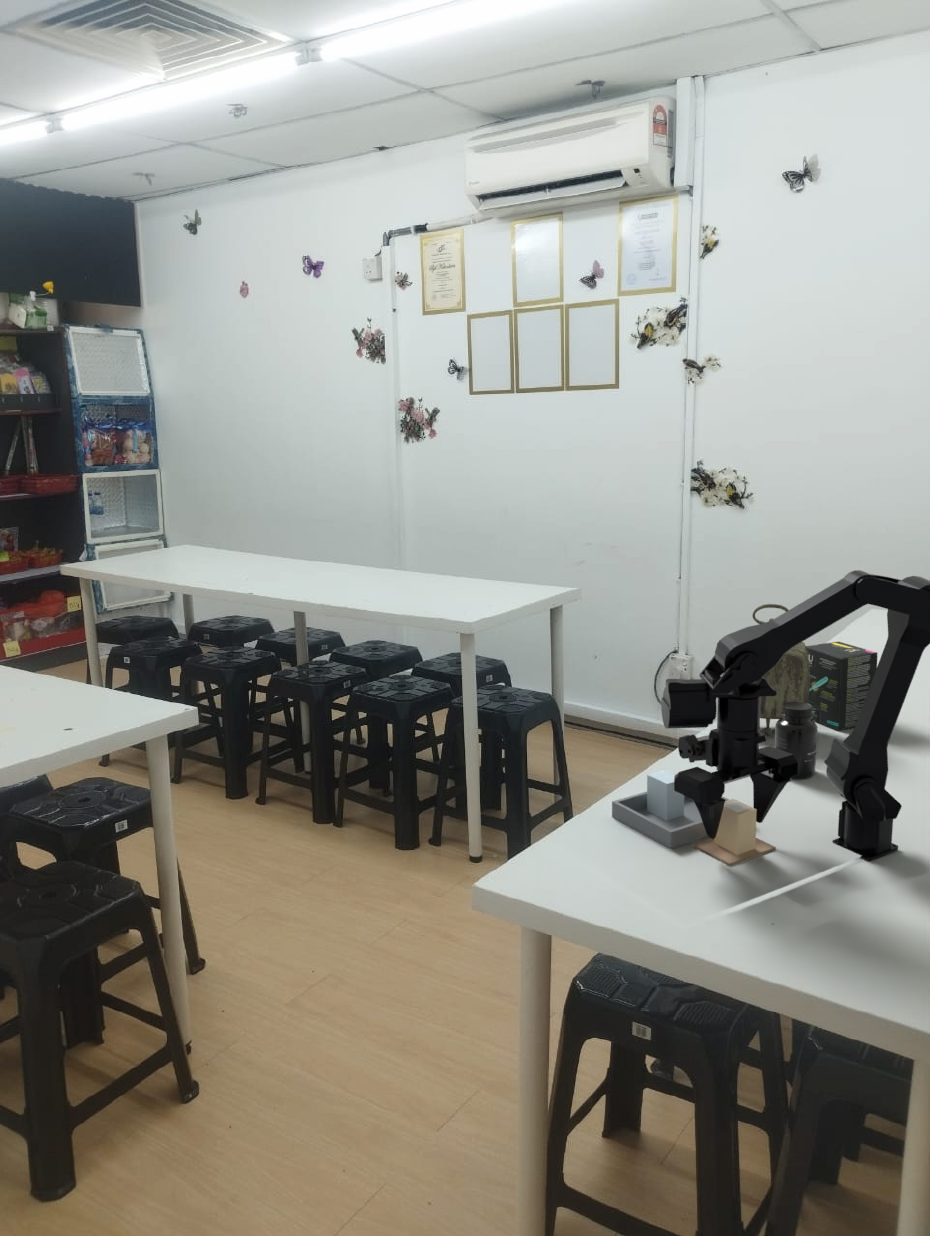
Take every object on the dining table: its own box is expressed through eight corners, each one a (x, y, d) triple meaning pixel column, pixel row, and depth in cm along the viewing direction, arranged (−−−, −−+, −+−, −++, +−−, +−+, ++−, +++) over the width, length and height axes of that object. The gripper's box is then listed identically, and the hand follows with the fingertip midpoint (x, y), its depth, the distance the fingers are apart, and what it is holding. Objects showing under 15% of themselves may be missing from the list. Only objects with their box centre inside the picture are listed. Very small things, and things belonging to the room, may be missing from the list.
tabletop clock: (806, 726, 189) (812, 601, 183) (807, 742, 180) (814, 611, 175) (729, 721, 193) (733, 598, 187) (727, 736, 185) (730, 608, 179)
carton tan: (755, 848, 137) (756, 808, 136) (737, 855, 136) (738, 814, 134) (731, 837, 141) (733, 797, 140) (714, 843, 140) (715, 803, 138)
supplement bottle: (818, 781, 162) (821, 712, 160) (775, 779, 164) (778, 711, 161) (812, 765, 169) (815, 700, 166) (771, 764, 170) (773, 698, 168)
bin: (746, 825, 146) (747, 807, 146) (670, 851, 139) (670, 832, 138) (685, 797, 158) (686, 779, 157) (612, 819, 150) (612, 801, 150)
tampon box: (875, 724, 189) (880, 651, 185) (837, 732, 185) (841, 657, 182) (835, 709, 198) (838, 639, 195) (798, 715, 195) (801, 645, 192)
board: (775, 852, 138) (775, 847, 138) (729, 869, 133) (729, 863, 133) (738, 834, 144) (738, 829, 144) (693, 849, 139) (693, 844, 139)
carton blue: (683, 815, 150) (684, 778, 148) (666, 820, 148) (667, 783, 147) (663, 805, 154) (664, 769, 152) (646, 810, 152) (647, 774, 150)
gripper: (743, 699, 146) (740, 796, 149) (647, 723, 137) (646, 825, 140) (802, 718, 136) (797, 821, 140) (704, 745, 127) (701, 854, 131)
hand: (735, 829), depth 138 cm, fingers open, 9 cm apart
